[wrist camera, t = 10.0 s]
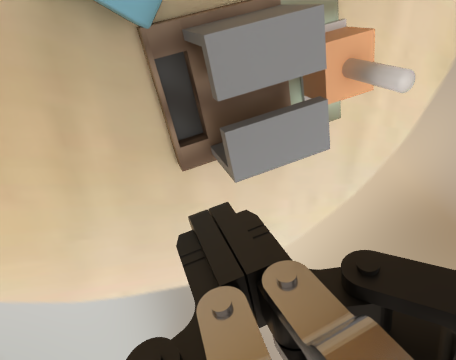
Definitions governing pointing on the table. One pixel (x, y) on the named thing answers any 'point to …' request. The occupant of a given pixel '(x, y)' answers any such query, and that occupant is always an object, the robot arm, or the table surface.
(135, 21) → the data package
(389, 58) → the table surface
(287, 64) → the tunnel
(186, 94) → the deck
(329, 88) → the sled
